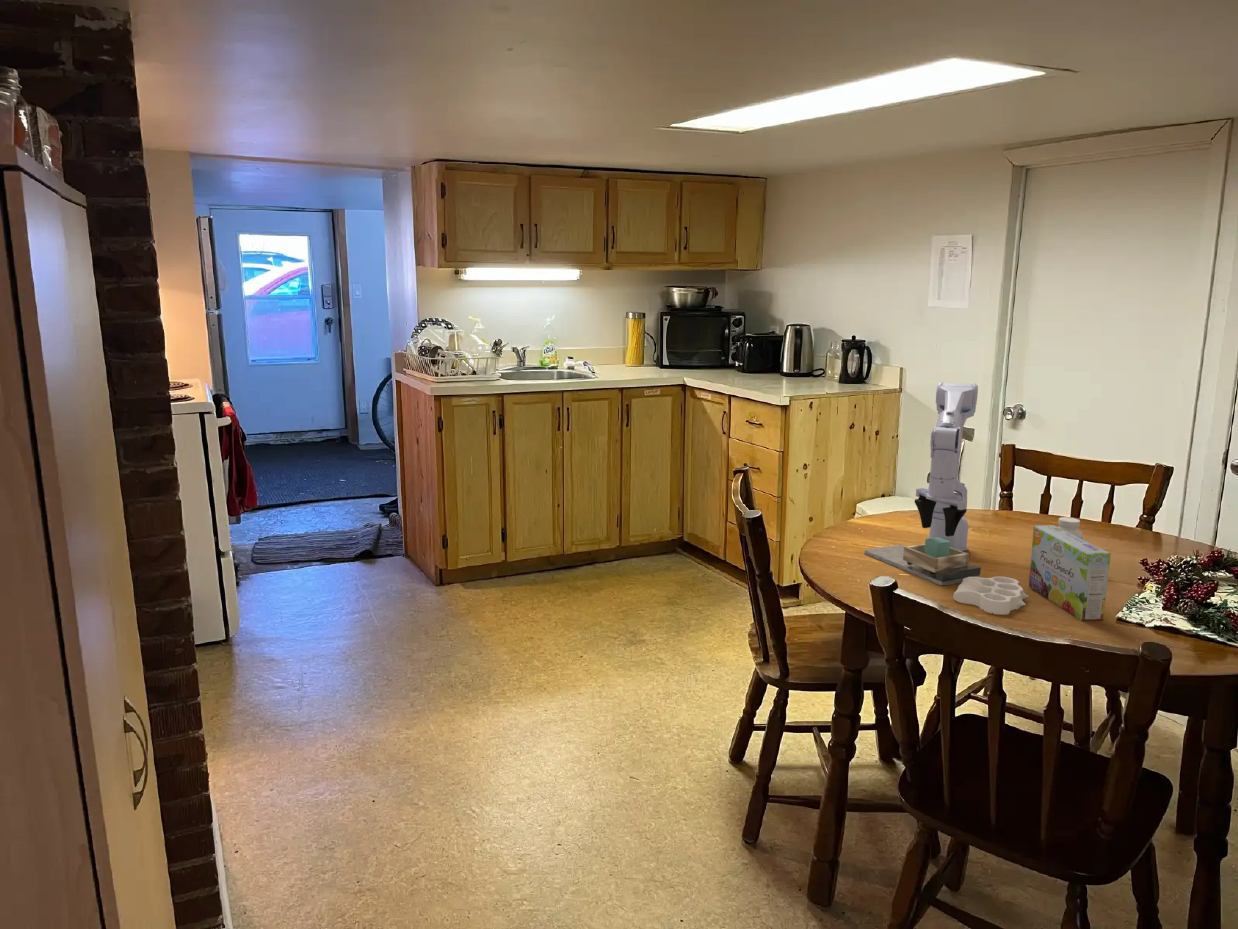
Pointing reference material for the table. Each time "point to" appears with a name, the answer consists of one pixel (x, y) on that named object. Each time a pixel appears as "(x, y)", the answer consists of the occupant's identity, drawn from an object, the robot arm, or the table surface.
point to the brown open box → (935, 559)
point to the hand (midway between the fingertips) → (937, 531)
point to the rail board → (944, 577)
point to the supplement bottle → (1070, 526)
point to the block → (937, 547)
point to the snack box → (1069, 572)
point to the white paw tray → (991, 594)
